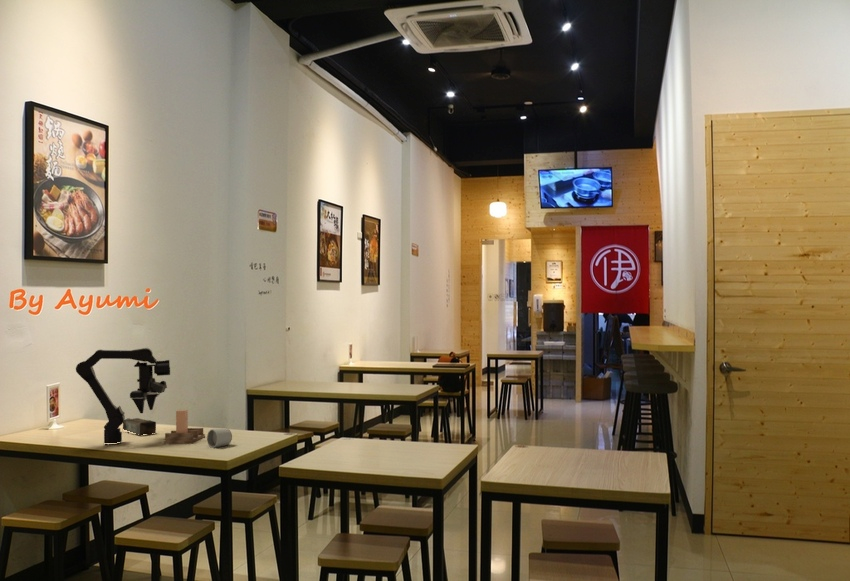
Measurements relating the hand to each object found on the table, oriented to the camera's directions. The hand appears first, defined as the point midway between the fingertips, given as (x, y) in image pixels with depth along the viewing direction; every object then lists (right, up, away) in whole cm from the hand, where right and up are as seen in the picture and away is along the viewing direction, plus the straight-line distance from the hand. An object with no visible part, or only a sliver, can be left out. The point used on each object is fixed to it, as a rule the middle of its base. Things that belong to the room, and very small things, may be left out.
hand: (146, 411), depth 308 cm
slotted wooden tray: (+17, -13, 0) cm, 21 cm away
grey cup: (+36, -13, -14) cm, 40 cm away
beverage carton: (-12, -14, +21) cm, 28 cm away
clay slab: (+17, -12, -3) cm, 21 cm away
